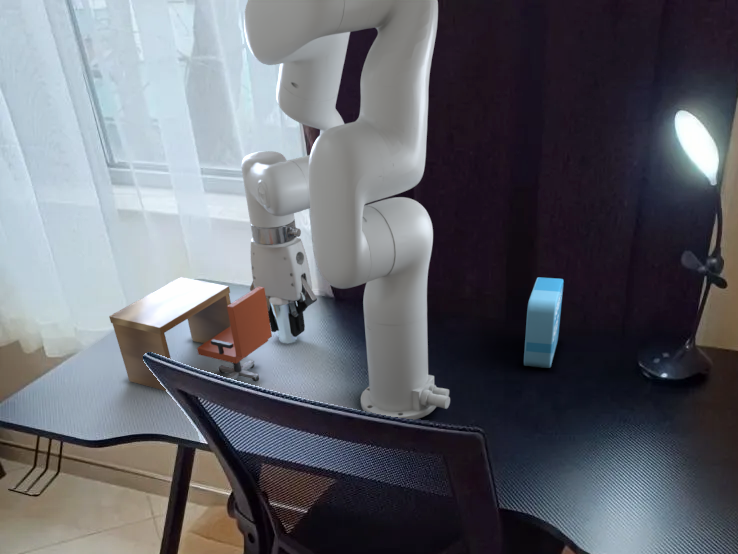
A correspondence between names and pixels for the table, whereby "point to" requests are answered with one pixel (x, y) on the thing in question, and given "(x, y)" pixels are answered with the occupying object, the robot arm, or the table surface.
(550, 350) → the data package
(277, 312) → the milkshake
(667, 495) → the table surface
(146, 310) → the desk
